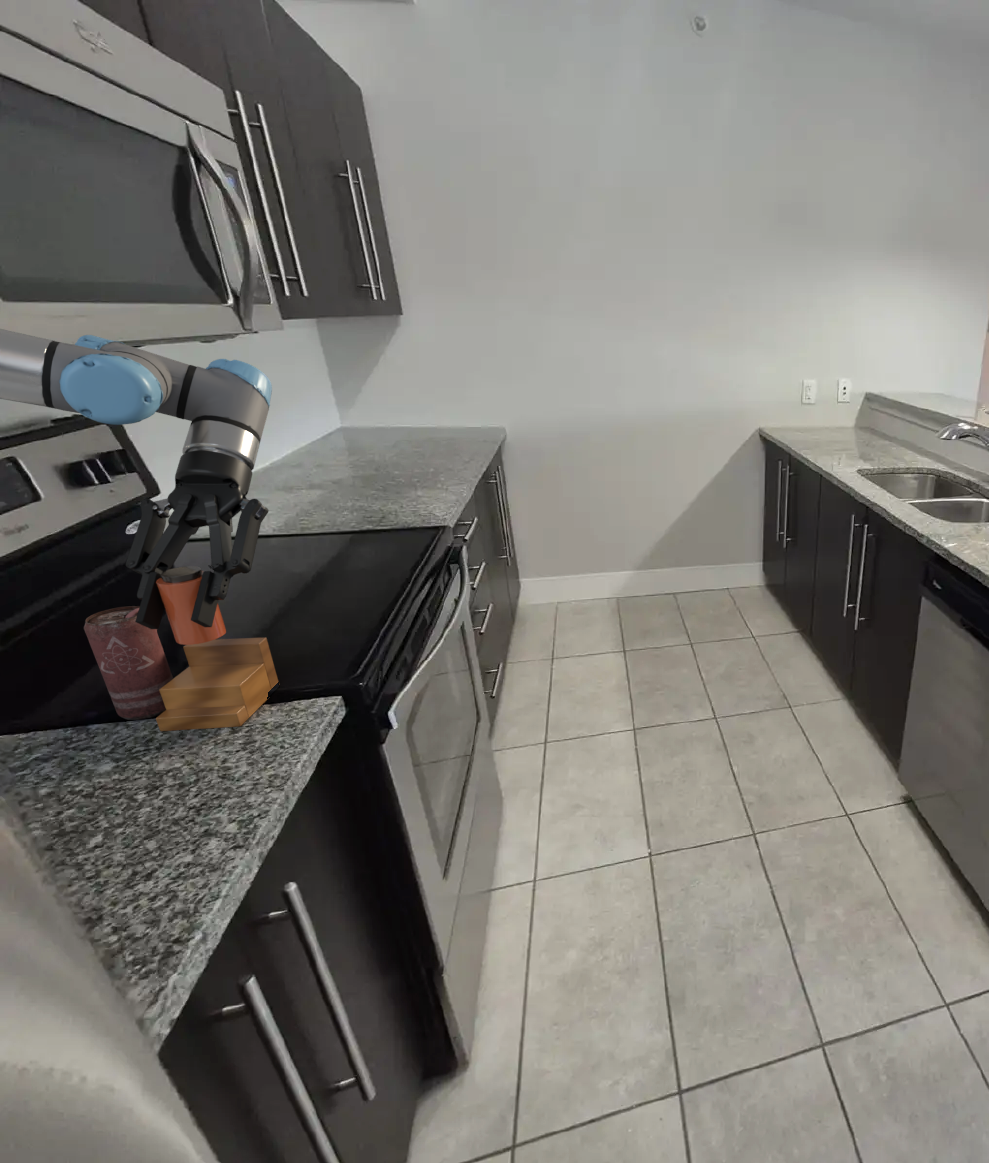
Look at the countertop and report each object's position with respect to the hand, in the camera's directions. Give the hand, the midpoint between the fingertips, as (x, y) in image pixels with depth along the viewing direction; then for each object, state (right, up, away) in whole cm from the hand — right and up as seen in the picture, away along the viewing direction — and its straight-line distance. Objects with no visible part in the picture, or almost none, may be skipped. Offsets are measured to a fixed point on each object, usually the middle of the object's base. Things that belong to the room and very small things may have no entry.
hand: (174, 624), depth 78 cm
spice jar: (-1, -2, +5) cm, 5 cm away
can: (-11, -12, +8) cm, 18 cm away
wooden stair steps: (-2, -12, +9) cm, 15 cm away
